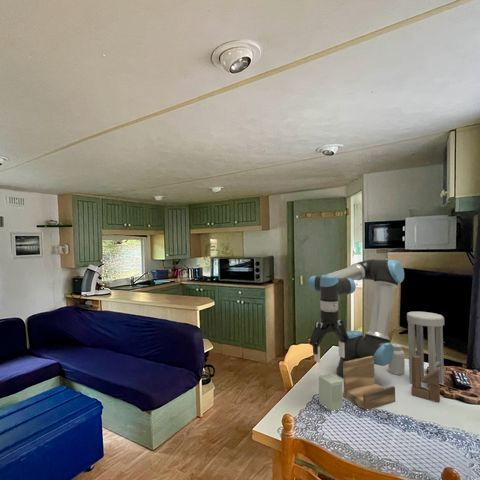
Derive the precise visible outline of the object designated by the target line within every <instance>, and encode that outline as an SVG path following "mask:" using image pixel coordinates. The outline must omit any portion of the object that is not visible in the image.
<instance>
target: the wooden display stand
mask: <svg viewBox="0 0 480 480" xmlns="http://www.w3.org/2000/svg"><path fill="white" fill-rule="evenodd" d="M342 379H343V380H342V382H343V397H344V398H345V399H347V400H348V401H350V402H351V403H353V404H354V403H355V404H354V405H356V404H357V405H359V406H361V407H362V408H364V409H365V410H367V409H370V410H372V408H373V409H376V408H379V407H382V406H386V405H389V404H392V403H395V402H396V387H395V386H393V385H392V386H389V387H383V386H382V385H379V384H377V383H375V364H374V357H373V356H369V357H364V358H359V359H354V360H350V361H345V362H343V378H342ZM357 405H356V406H357ZM359 406H358V407H359ZM361 407H360V408H361ZM362 408H361V409H362ZM364 409H363V410H364ZM365 410H364V411H365ZM367 411H368V410H367Z"/></svg>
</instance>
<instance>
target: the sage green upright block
mask: <svg viewBox="0 0 480 480" xmlns="http://www.w3.org/2000/svg"><path fill="white" fill-rule="evenodd" d="M343 399H344V398H343V380H342V379H340V378H338V377H336V376H334V375H333V374H331V373H326V374H322V375H319V376H318V403H319V402H320V403H321V404H323V405H324V406H326V407H327V408H328V409H329V410H330V411H334V410H338V409H341V408H344V406H343V403H344V402H343ZM321 404H320V405H321ZM329 410H328V411H329ZM330 411H329V412H330Z"/></svg>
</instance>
